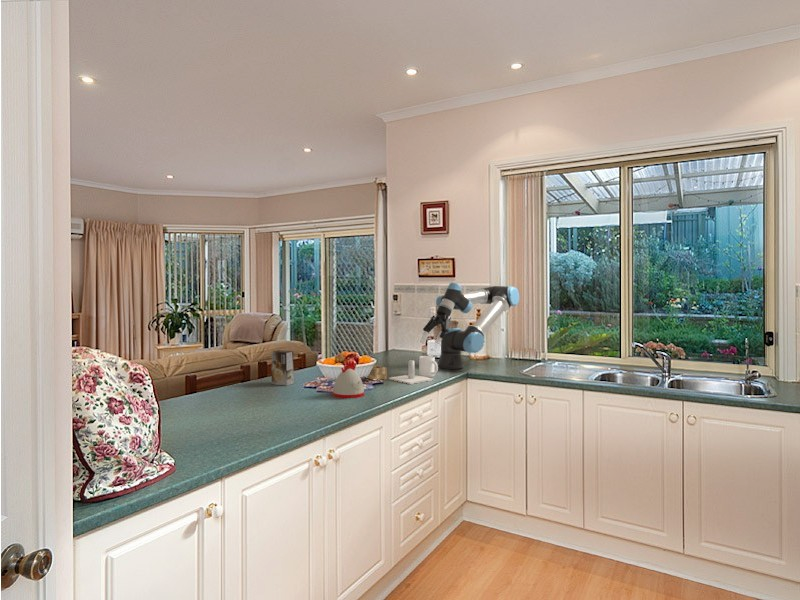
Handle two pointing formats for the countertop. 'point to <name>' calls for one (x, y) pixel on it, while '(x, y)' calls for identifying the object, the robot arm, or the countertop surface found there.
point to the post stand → (411, 375)
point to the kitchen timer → (348, 383)
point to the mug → (427, 366)
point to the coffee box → (282, 367)
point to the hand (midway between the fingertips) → (429, 342)
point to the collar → (378, 372)
